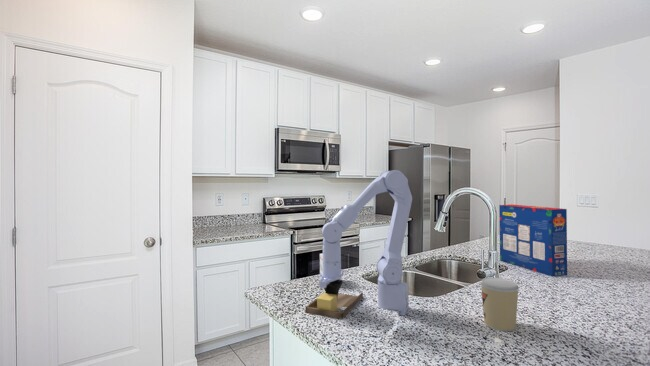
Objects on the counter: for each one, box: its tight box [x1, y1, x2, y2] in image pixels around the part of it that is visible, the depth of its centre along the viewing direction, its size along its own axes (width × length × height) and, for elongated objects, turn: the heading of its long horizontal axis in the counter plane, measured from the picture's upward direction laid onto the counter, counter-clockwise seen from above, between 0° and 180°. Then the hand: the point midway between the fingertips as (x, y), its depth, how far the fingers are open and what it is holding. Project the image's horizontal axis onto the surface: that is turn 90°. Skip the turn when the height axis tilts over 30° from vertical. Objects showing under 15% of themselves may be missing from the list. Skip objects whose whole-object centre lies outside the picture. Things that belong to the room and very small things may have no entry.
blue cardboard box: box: [498, 204, 568, 277], centre depth 148 cm, size 28×8×28 cm, turn 14°
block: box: [316, 292, 337, 311], centre depth 98 cm, size 4×4×4 cm
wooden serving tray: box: [304, 291, 364, 320], centre depth 104 cm, size 12×19×3 cm, turn 155°
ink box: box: [319, 252, 323, 281], centre depth 127 cm, size 9×5×12 cm, turn 12°
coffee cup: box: [480, 277, 520, 332], centre depth 90 cm, size 9×9×12 cm
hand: (332, 303), depth 101 cm, fingers closed
